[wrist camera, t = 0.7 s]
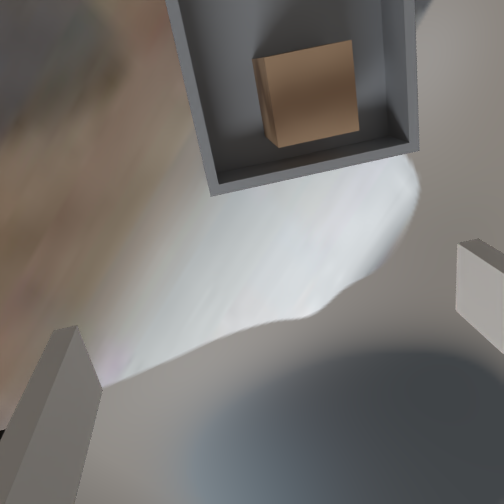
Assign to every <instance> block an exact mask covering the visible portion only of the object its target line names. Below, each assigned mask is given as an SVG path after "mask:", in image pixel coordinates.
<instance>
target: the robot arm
mask: <svg viewBox="0 0 504 504" xmlns="http://www.w3.org/2000/svg"><path fill="white" fill-rule="evenodd" d="M456 311H457V312H458V313H459V314H460V315H461V316H462V317H463V318H464V319H466V320H467V321H468V322H469V323H470V324H471V325H472V326H473V327H474V328H475V329H476V330H478V331H479V332H480V333H481V334H482V335H483V336H484V337H485V338H486V339H487V340H489V341H490V342H491V343H492V344H493V345H494V346H495V347H496V348H497V349H499V351H501V352H502V353H503V354H504V254H503V253H502V252H500V251H498V250H497V249H495V248H493V247H492V246H490V245H488V244H487V243H485V242H483V241H482V240H480V239H474V240H469V241H466V242H460V243H458V245H457V277H456ZM102 391H103V390H102V387H101V385H100V382H99V380H98V377H97V374H96V372H95V369H94V367H93V364H92V362H91V359H90V357H89V354H88V351H87V349H86V346H85V344H84V341H83V339H82V336H81V334H80V331H79V328H78V326H72V327H67V328H63V329H58V330H54V331H53V333H52V335H51V337H50V339H49V341H48V343H47V345H46V347H45V350H44V352H43V354H42V356H41V358H40V360H39V362H38V364H37V366H36V368H35V370H34V372H33V374H32V376H31V378H30V380H29V382H28V385H27V387H26V389H25V391H24V393H23V395H22V397H21V399H20V401H19V403H18V405H17V407H16V409H15V411H14V413H13V415H12V417H11V419H10V422H9V424H8V426H7V428H6V430H1V431H0V504H75V500H76V496H77V492H78V488H79V484H80V479H81V475H82V472H83V467H84V463H85V459H86V455H87V451H88V447H89V443H90V439H91V435H92V431H93V427H94V423H95V419H96V415H97V411H98V407H99V403H100V399H101V395H102Z"/></svg>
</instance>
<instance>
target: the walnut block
mask: <svg viewBox="0 0 504 504" xmlns="http://www.w3.org/2000/svg"><path fill="white" fill-rule="evenodd" d="M252 64H253V70H254V75H255V81H256V87H257V93H258V99H259V105H260V111H261V116H262V122H263V128H264V134H265V137H266V138H268V139H269V140H270V141H271V142H272V143H273V144H275V145H276V146H277V147H278V148H281V147H285V146H290V145H295V144H299V143H304V142H309V141H313V140H318V139H322V138H327V137H332V136H336V135H341V134H346V133H350V132H355V131H359V119H358V108H357V96H356V84H355V73H354V61H353V49H352V40H347V41H341V42H335V43H330V44H324V45H319V46H314V47H309V48H304V49H300V50H295V51H290V52H285V53H280V54H275V55H270V56H265V57H261V58H256V59H252Z"/></svg>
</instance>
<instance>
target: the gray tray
mask: <svg viewBox="0 0 504 504" xmlns="http://www.w3.org/2000/svg"><path fill="white" fill-rule="evenodd" d="M165 1H166V6H167V10H168V14H169V18H170V23H171V27H172V31H173V36H174V40H175V44H176V49H177V53H178V57H179V62H180V66H181V70H182V74H183V79H184V83H185V87H186V92H187V96H188V100H189V105H190V109H191V113H192V117H193V122H194V126H195V130H196V135H197V139H198V143H199V148H200V152H201V156H202V160H203V165H204V169H205V173H206V178H207V182H208V186H209V191H210V195H211V197H212V196H216V195H221V194H225V193H230V192H234V191H239V190H243V189H248V188H252V187H257V186H262V185H266V184H271V183H275V182H280V181H284V180H289V179H293V178H298V177H302V176H307V175H311V174H316V173H320V172H325V171H330V170H334V169H339V168H343V167H348V166H352V165H357V164H361V163H366V162H370V161H375V160H379V159H384V158H389V157H393V156H398V155H402V154H407V153H411V152H416V151H419V123H418V89H417V62H416V61H417V58H416V27H415V0H165ZM347 40H352V49H353V61H354V73H355V84H356V96H357V108H358V119H359V131H355V132H350V133H346V134H341V135H336V136H332V137H327V138H322V139H318V140H313V141H309V142H304V143H299V144H295V145H290V146H285V147H281V148H278V147H277V146H276V145H275V144H273V143H272V142H271V141H270V140H269V139H268V138H266V137H265V134H264V128H263V122H262V116H261V111H260V105H259V99H258V93H257V87H256V81H255V75H254V70H253V64H252V59H256V58H261V57H265V56H270V55H275V54H280V53H285V52H290V51H295V50H300V49H304V48H309V47H314V46H319V45H324V44H330V43H335V42H341V41H347Z"/></svg>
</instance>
